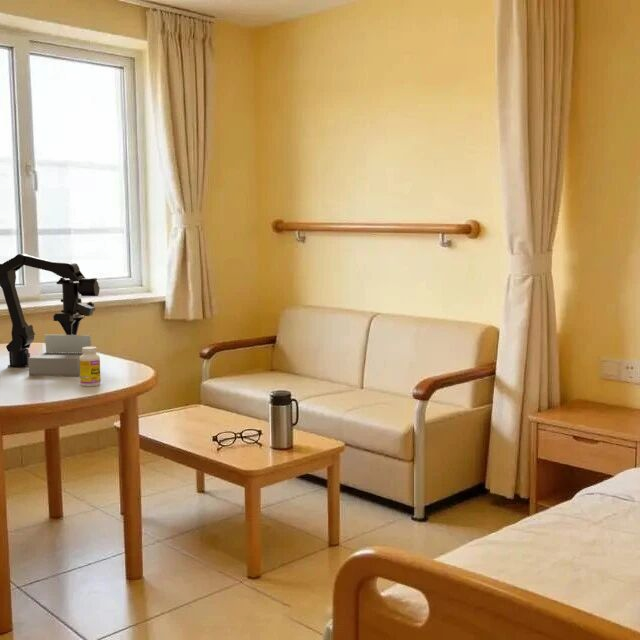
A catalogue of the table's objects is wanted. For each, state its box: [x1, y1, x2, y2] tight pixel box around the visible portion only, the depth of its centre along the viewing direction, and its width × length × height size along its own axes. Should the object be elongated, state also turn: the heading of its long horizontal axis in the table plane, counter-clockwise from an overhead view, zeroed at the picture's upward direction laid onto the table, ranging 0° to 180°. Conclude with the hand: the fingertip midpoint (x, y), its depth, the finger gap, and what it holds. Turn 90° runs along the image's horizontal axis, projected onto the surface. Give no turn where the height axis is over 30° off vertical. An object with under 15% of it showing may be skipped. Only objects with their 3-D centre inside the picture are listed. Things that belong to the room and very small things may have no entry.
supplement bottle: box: [79, 346, 101, 388], centre depth 263 cm, size 7×7×13 cm
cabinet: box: [28, 351, 83, 377], centre depth 285 cm, size 18×14×6 cm
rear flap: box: [44, 333, 92, 353], centre depth 293 cm, size 18×7×4 cm
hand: (72, 337), depth 294 cm, fingers open, 4 cm apart
